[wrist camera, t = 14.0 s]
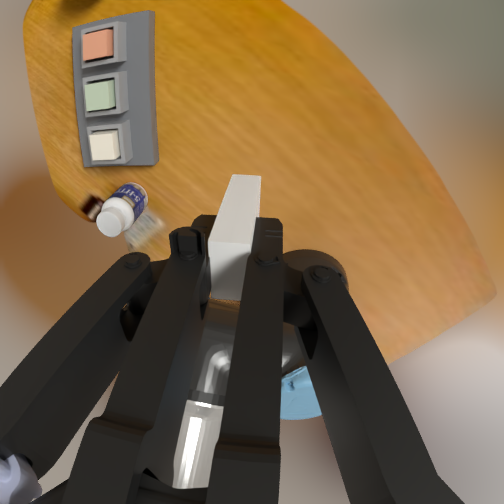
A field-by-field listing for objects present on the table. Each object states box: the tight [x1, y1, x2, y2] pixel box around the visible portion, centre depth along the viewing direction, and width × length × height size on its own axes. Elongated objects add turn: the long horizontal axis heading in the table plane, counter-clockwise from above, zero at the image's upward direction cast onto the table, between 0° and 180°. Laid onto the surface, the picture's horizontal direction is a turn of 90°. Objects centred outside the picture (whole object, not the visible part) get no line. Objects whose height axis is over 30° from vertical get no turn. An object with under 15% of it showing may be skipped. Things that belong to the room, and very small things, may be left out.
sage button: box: [84, 79, 116, 111], centre depth 34 cm, size 4×4×3 cm
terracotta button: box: [83, 29, 114, 61], centre depth 30 cm, size 4×4×3 cm
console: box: [73, 10, 159, 167], centre depth 36 cm, size 22×12×4 cm, turn 178°
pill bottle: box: [96, 182, 148, 237], centre depth 44 cm, size 5×5×9 cm
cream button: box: [89, 128, 121, 160], centre depth 38 cm, size 4×4×3 cm
